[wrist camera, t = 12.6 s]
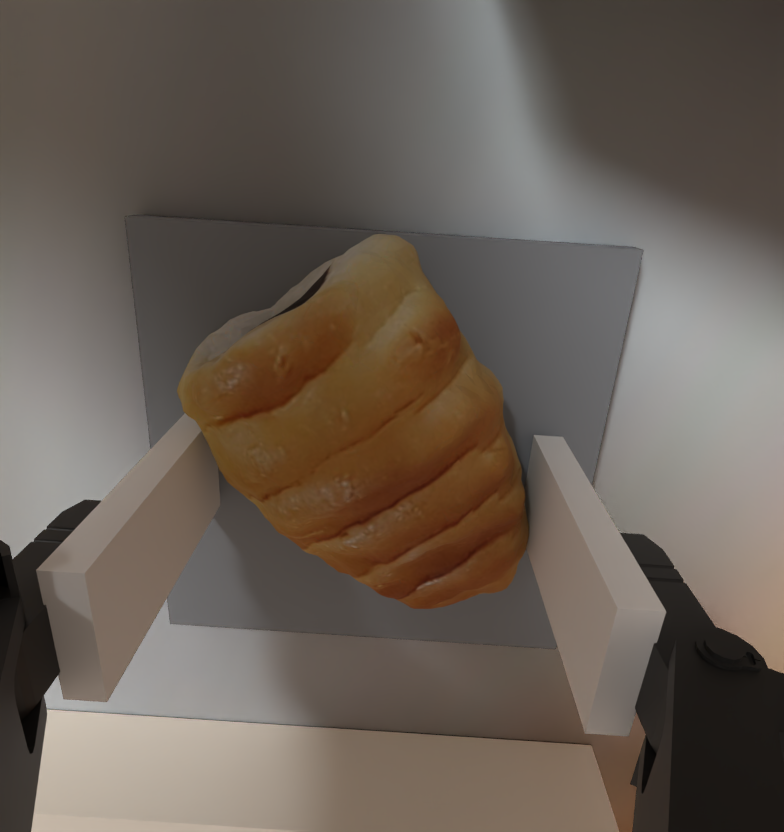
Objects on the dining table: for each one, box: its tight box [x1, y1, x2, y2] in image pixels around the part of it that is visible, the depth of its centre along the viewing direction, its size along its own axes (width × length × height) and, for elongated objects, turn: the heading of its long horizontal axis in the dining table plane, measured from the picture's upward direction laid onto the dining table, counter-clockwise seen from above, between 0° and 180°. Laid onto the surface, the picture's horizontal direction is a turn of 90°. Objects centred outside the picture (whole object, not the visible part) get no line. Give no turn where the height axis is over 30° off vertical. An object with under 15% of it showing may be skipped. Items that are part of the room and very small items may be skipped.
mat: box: [125, 215, 643, 649], centre depth 16 cm, size 12×12×1 cm
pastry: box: [177, 234, 529, 609], centre depth 14 cm, size 9×7×4 cm
